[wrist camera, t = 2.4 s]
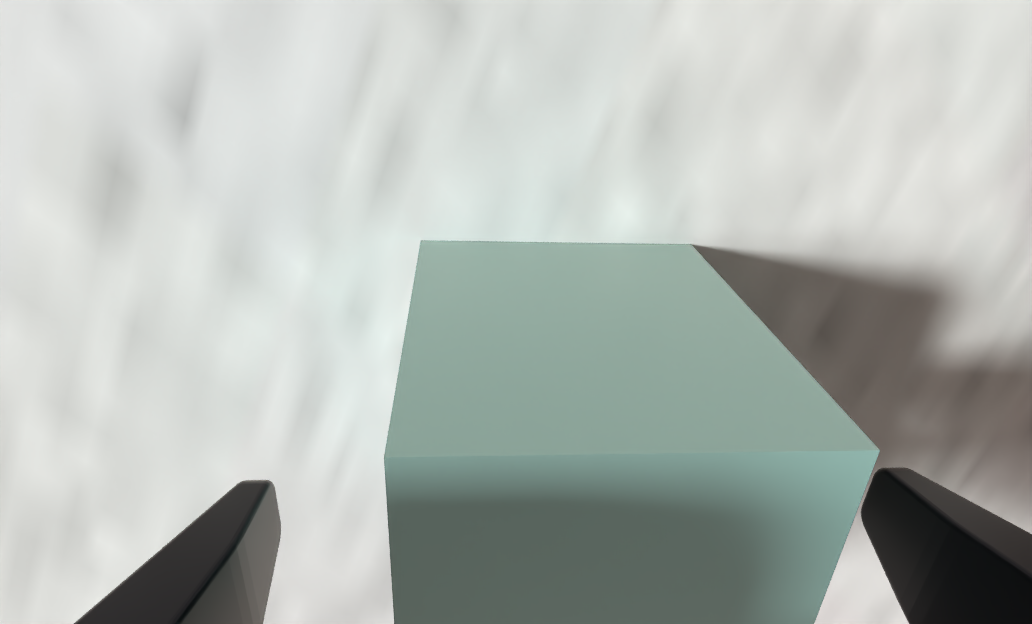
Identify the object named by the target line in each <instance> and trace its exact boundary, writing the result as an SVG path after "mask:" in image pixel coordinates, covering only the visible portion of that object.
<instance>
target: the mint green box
mask: <svg viewBox="0 0 1032 624" xmlns="http://www.w3.org/2000/svg"><path fill="white" fill-rule="evenodd" d="M879 452H880V450H879V449H878V447H877V446H876V445H875V444H874V443H873V442H872V441H871V440H870V439H869V438H868V437H867V435H866V434H865V433H864V432H863V431H862V430H861V429H860V428H859V427H858V426H857V425H856V423H855V422H854V421H853V420H852V419H851V418H850V417H849V416H848V415H847V414H846V413H845V411H844V410H843V409H842V408H841V407H840V406H839V405H838V404H837V403H836V402H835V401H834V399H833V398H832V397H831V396H830V395H829V394H828V393H827V392H826V391H825V390H824V389H823V387H822V386H821V385H820V384H819V383H818V382H817V381H816V380H815V379H814V378H813V377H812V375H811V374H810V373H809V372H808V371H807V370H806V369H805V368H804V367H803V366H802V365H801V363H800V362H799V361H798V360H797V359H796V358H795V357H794V356H793V355H792V354H791V353H790V352H789V350H788V349H787V348H786V347H785V346H784V345H783V344H782V343H781V342H780V341H779V340H778V338H777V337H776V336H775V335H774V334H773V333H772V332H771V331H770V330H769V329H768V328H767V326H766V325H765V324H764V323H763V322H762V321H761V320H760V319H759V318H758V317H757V316H756V314H755V313H754V312H753V311H752V310H751V309H750V308H749V307H748V306H747V305H746V304H745V302H744V301H743V300H742V299H741V298H740V297H739V296H738V295H737V294H736V293H735V292H734V290H733V289H732V288H731V287H730V286H729V285H728V284H727V283H726V282H725V281H724V280H723V278H722V277H721V276H720V275H719V274H718V273H717V272H716V271H715V270H714V269H713V268H712V266H711V265H710V264H709V263H708V262H707V261H706V260H705V259H704V258H703V257H702V256H701V254H700V253H699V252H698V251H697V250H696V249H695V248H694V247H693V246H692V245H691V244H626V243H558V242H489V241H421V243H420V249H419V255H418V261H417V266H416V272H415V278H414V284H413V290H412V296H411V302H410V308H409V314H408V319H407V325H406V331H405V337H404V343H403V349H402V355H401V361H400V367H399V372H398V378H397V384H396V390H395V396H394V402H393V408H392V414H391V420H390V425H389V431H388V437H387V443H386V449H385V455H384V464H385V480H386V496H387V512H388V528H389V544H390V560H391V576H392V593H393V609H394V624H814V622H815V620H816V617H817V615H818V612H819V609H820V607H821V604H822V601H823V599H824V596H825V594H826V591H827V588H828V586H829V583H830V580H831V578H832V575H833V573H834V570H835V567H836V565H837V562H838V559H839V557H840V554H841V552H842V549H843V546H844V544H845V541H846V538H847V536H848V533H849V531H850V528H851V525H852V523H853V520H854V518H855V515H856V512H857V510H858V507H859V504H860V502H861V499H862V497H863V494H864V491H865V489H866V486H867V483H868V481H869V478H870V476H871V473H872V470H873V468H874V465H875V462H876V460H877V457H878V455H879Z"/></svg>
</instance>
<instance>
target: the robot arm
mask: <svg viewBox="0 0 1032 624" xmlns="http://www.w3.org/2000/svg"><path fill="white" fill-rule="evenodd" d="M861 517H862V522H863V525H864V527H865V530H866V532H867V534H868V536H869V538H870V541H871V543H872V545H873V547H874V549H875V551H876V554H877V556H878V558H879V560H880V562H881V565H882V567H883V569H884V571H885V573H886V576H887V578H888V580H889V582H890V584H891V587H892V589H893V591H894V593H895V595H896V598H897V600H898V602H899V604H900V606H901V608H902V610H903V612H904V614H905V616H906V618H907V620H908V622H909V624H1032V534H1030V533H1028V532H1026V531H1025V530H1023V529H1021V528H1019V527H1017V526H1015V525H1013V524H1012V523H1010V522H1008V521H1006V520H1004V519H1002V518H1000V517H998V516H997V515H995V514H993V513H991V512H989V511H987V510H985V509H983V508H982V507H980V506H978V505H976V504H974V503H972V502H970V501H969V500H967V499H965V498H963V497H961V496H959V495H957V494H955V493H954V492H952V491H950V490H948V489H946V488H944V487H942V486H941V485H939V484H937V483H935V482H933V481H931V480H929V479H927V478H926V477H924V476H922V475H920V474H918V473H916V472H914V471H912V470H910V469H908V468H882V469H879V470H878V471H877V472H876V473H875V474H874V476H873V479H872V482H871V484H870V487H869V489H868V492H867V495H866V497H865V500H864V502H863V505H862V509H861ZM280 535H281V522H280V516H279V510H278V504H277V498H276V492H275V487H274V485H273V483H272V482H271V481H269V480H246V481H242V482H240V483H238V484H237V485H236V486H235V487H233V488H232V489H231V490H230V491H229V492H227V493H226V494H225V495H224V496H223V497H222V498H220V499H219V500H218V501H217V502H216V503H215V504H213V505H212V506H211V507H210V508H209V509H208V510H206V511H205V512H204V513H203V514H202V515H201V516H199V517H198V518H197V519H196V520H195V521H194V522H192V523H191V524H190V525H189V526H188V527H186V528H185V529H184V530H183V531H182V532H181V533H179V534H178V535H177V536H176V537H175V538H174V539H172V540H171V541H170V542H169V543H168V544H167V545H165V546H164V547H163V548H162V549H161V550H160V551H158V552H157V553H156V554H155V555H154V556H153V557H151V558H150V559H149V560H148V561H147V562H145V563H144V564H143V565H142V566H141V567H140V568H138V569H137V570H136V571H135V572H134V573H133V574H131V575H130V576H129V577H128V578H127V579H126V580H124V581H123V582H122V583H121V584H120V585H119V586H117V587H116V588H115V589H114V590H113V591H112V592H110V593H109V594H108V595H107V596H106V597H104V598H103V599H102V600H101V601H100V602H99V603H97V604H96V605H95V606H94V607H93V608H92V609H90V610H89V611H88V612H87V613H86V614H85V615H83V616H82V617H81V618H80V619H79V620H78V621H76V622H75V623H74V624H263V620H264V615H265V611H266V606H267V601H268V596H269V591H270V586H271V581H272V576H273V572H274V567H275V562H276V557H277V552H278V547H279V542H280Z"/></svg>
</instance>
